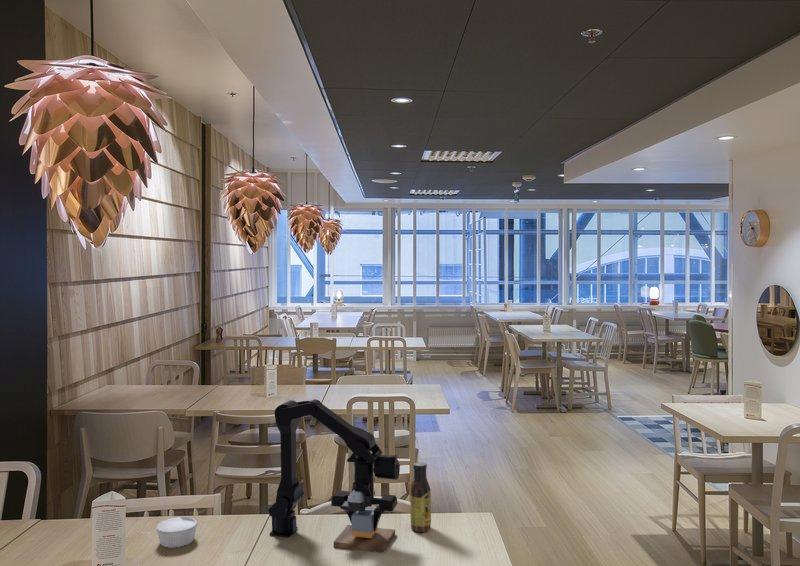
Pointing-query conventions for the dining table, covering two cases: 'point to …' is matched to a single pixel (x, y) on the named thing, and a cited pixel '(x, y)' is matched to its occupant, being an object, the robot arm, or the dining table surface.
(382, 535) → the pin board
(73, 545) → the dining table surface
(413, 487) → the sauce bottle
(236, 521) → the dining table surface
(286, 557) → the dining table surface
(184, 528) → the ramekin
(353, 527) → the sleeve
